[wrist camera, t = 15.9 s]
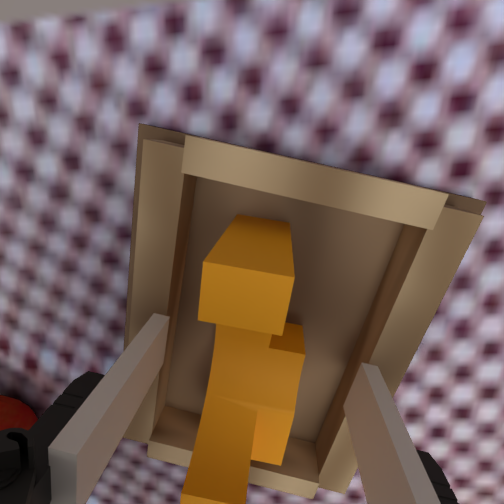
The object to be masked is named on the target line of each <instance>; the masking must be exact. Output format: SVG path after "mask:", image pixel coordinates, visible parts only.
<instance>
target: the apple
mask: <svg viewBox="0 0 504 504" xmlns="http://www.w3.org/2000/svg"><path fill="white" fill-rule="evenodd" d="M37 420H38V419H37V417H36V415H35V413H34V412H33V411H32V409H31V408H30V407H29V406H28V405H26V404H25V403H23V402H21V401H20V400H18V399H14V398H10V397H7V396H3V395H0V431H1V430H4V429H8V428H23V429H26V430H29V429H30V428H31V427H32V426H33V425H34V423H35V422H36V421H37Z"/></svg>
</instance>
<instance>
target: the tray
mask: <svg viewBox="0 0 504 504" xmlns="http://www.w3.org/2000/svg"><path fill="white" fill-rule="evenodd" d="M486 203H487V202H486V201H482V200H478V199H474V198H469V197H465V196H461V195H456V194H452V193H447V192H443V191H438V190H434V189H430V188H425V187H421V186H416V185H412V184H407V183H403V182H398V181H394V180H390V179H385V178H381V177H376V176H372V175H367V174H363V173H359V172H354V171H350V170H345V169H341V168H336V167H332V166H328V165H323V164H319V163H314V162H310V161H305V160H301V159H296V158H292V157H288V156H283V155H279V154H274V153H270V152H265V151H261V150H257V149H252V148H248V147H243V146H239V145H234V144H230V143H225V142H221V141H217V140H212V139H208V138H203V137H199V136H194V135H190V134H186V133H181V132H177V131H172V130H168V129H163V128H159V127H154V126H150V125H145V124H140V123H139V129H138V144H137V158H136V173H135V188H134V203H133V218H132V233H131V248H130V263H129V278H128V293H127V308H126V322H125V337H124V351H125V349H126V348H127V347H128V345H129V344H130V343H131V342H132V340H133V339H134V338H135V337H136V335H137V334H138V333H139V332H140V330H141V329H142V328H143V326H144V325H145V324H146V323H147V321H148V320H149V319H150V318H151V316H152V315H153V314H154V313H156V314H160V315H164V316H169V317H170V318H169V326H168V333H167V341H166V348H165V356H164V363H163V365H162V367H161V368H160V370H159V372H158V374H157V376H156V377H155V379H154V381H153V383H152V385H151V386H150V388H149V390H148V392H147V394H146V395H145V397H144V399H143V401H142V403H141V404H140V406H139V408H138V410H137V412H136V413H135V415H134V417H133V419H132V421H131V423H130V424H129V426H128V428H127V430H126V432H125V433H124V435H123V438H127V439H131V440H135V441H139V442H142V443H146V444H148V452H147V457H149V458H153V459H157V460H161V461H165V462H169V463H173V464H177V465H181V466H185V467H189V464H190V460H191V457H192V453H193V449H194V445H195V441H196V437H197V433H198V429H199V425H200V420H201V416H202V411H203V407H204V402H205V397H206V392H207V387H208V382H209V377H210V371H211V365H212V358H213V351H214V344H215V334H216V324H215V323H209V322H204V321H199V320H198V311H199V300H200V289H201V279H202V268H203V261H204V260H205V258H206V257H207V255H208V254H209V253H210V251H211V250H212V249H213V247H214V246H215V244H216V243H217V242H218V240H219V239H220V237H221V236H222V235H223V233H224V232H225V231H226V229H227V228H228V226H229V225H230V224H231V222H232V221H233V220H234V218H235V217H236V215H237V214H240V215H246V216H252V217H258V218H264V219H270V220H276V221H282V222H288V223H290V230H291V241H292V252H293V263H294V274H295V279H294V284H293V288H292V293H291V297H290V302H289V307H288V311H287V316H286V321H285V322H286V323H291V324H297V325H302V326H303V335H304V344H305V353H306V356H305V359H304V363H303V367H302V371H301V376H300V381H299V387H298V392H297V399H296V406H295V413H294V418H293V422H292V426H291V430H290V433H289V437H288V441H287V445H286V449H285V452H284V456H283V460H282V464H281V466H280V465H275V464H270V463H265V462H260V461H256V460H251V461H250V469H249V477H248V483H251V484H255V485H259V486H263V487H267V488H271V489H275V490H278V491H282V492H286V493H290V494H294V495H298V496H302V497H306V498H310V499H313V497H314V495H315V493H316V491H317V488H318V487H319V488H323V489H327V490H331V491H335V492H339V493H343V494H345V492H346V490H347V488H348V486H349V484H350V482H351V480H352V478H353V476H354V474H355V472H356V470H357V468H358V464H357V460H356V456H355V452H354V448H353V444H352V440H351V436H350V432H349V428H348V424H347V420H346V416H345V412H344V408H343V405H344V403H345V400H346V398H347V396H348V393H349V391H350V389H351V386H352V384H353V382H354V379H355V377H356V374H357V372H358V370H359V367H360V365H361V363H366V364H371V365H375V366H378V368H379V370H380V372H381V375H382V377H383V379H384V381H385V383H386V385H387V388H388V390H389V392H390V394H391V396H392V398H393V396H394V394H395V392H396V390H397V388H398V386H399V384H400V382H401V380H402V378H403V376H404V374H405V372H406V370H407V368H408V366H409V364H410V362H411V360H412V358H413V356H414V354H415V352H416V350H417V348H418V346H419V344H420V342H421V340H422V338H423V336H424V335H425V333H426V331H427V329H428V327H429V325H430V323H431V321H432V319H433V317H434V315H435V313H436V311H437V309H438V307H439V305H440V303H441V301H442V299H443V297H444V295H445V293H446V291H447V289H448V287H449V285H450V283H451V281H452V279H453V277H454V275H455V273H456V271H457V269H458V267H459V265H460V263H461V261H462V259H463V257H464V255H465V253H466V251H467V249H468V247H469V245H470V243H471V241H472V239H473V237H474V235H475V233H476V231H477V229H478V227H479V225H480V223H481V221H482V219H483V217H484V216H482V215H481V213H482V211H483V209H484V207H485V205H486Z"/></svg>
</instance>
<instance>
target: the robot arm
mask: <svg viewBox="0 0 504 504" xmlns="http://www.w3.org/2000/svg"><path fill="white" fill-rule="evenodd" d="M169 318H170V317H169V316H164V315H160V314H156V313H154V314H153V315H152V316H151V318H150V319H149V320H148V321H147V323H146V324H145V325H144V326H143V328H142V329H141V330H140V332H139V333H138V334H137V335H136V337H135V338H134V339H133V340H132V342H131V343H130V344H129V345H128V347H127V348H126V349H125V351H124V352H123V353H122V354H121V356H120V357H119V358H118V359H117V361H116V362H115V363H114V365H113V366H112V367H111V368H110V370H109V371H108V372H107V373H106V375H102V374H98V373H93V372H89V371H88V372H86V373H85V374H83V375H81V376H80V377H78V378H77V379H75V380H74V381H73V382H72V383H71V384H70V385H69V386H68V387H67V388H66V389H65V390H64V392H63V394H62V395H60V396H59V397H58V398H57V399H56V400H55V401H54V403H53V405H51V406H50V407H49V408H48V409H47V410H46V411H45V412H44V414H43V415H42V416H41V417H40V418H39V419H38V420H37V421H36V422H35V423H34V425H33V426H32V427H31V428H30V429H29V430H26V429H23V428H8V429H4V430H1V431H0V504H49V503H50V504H86V502H87V500H88V498H89V496H90V495H91V493H92V491H93V489H94V487H95V486H96V484H97V482H98V480H99V478H100V477H101V475H102V473H103V471H104V469H105V468H106V466H107V464H108V462H109V460H110V459H111V457H112V455H113V453H114V451H115V450H116V448H117V446H118V444H119V442H120V441H121V439H122V437H123V435H124V433H125V432H126V430H127V428H128V426H129V424H130V423H131V421H132V419H133V417H134V415H135V413H136V412H137V410H138V408H139V406H140V404H141V403H142V401H143V399H144V397H145V395H146V394H147V392H148V390H149V388H150V386H151V385H152V383H153V381H154V379H155V377H156V376H157V374H158V372H159V370H160V368H161V367H162V365H163V363H164V356H165V348H166V341H167V333H168V326H169ZM343 408H344V412H345V416H346V420H347V424H348V428H349V432H350V436H351V440H352V444H353V448H354V452H355V456H356V460H357V464H358V468H359V472H360V476H361V480H362V484H363V488H364V492H365V496H366V500H367V504H459V503H457V498H456V496H455V494H454V492H453V491H452V489H450V485H449V483H448V481H447V479H446V477H445V475H444V473H443V471H442V469H441V468H440V466H439V465H438V464H437V463H436V461H435V460H434V459H433V458H432V457H431V455H430V454H429V453H428V452H423V451H419V450H416V449H415V446H414V444H413V442H412V440H411V438H410V436H409V433H408V431H407V429H406V427H405V425H404V422H403V420H402V418H401V416H400V414H399V412H398V409H397V407H396V405H395V403H394V401H393V398H392V396H391V394H390V392H389V390H388V388H387V385H386V383H385V381H384V379H383V377H382V375H381V372H380V370H379V368H378V366H375V365H371V364H366V363H361V365H360V367H359V370H358V372H357V374H356V377H355V379H354V382H353V384H352V386H351V389H350V391H349V393H348V396H347V398H346V400H345V403H344V405H343Z"/></svg>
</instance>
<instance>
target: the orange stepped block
mask: <svg viewBox="0 0 504 504" xmlns="http://www.w3.org/2000/svg"><path fill="white" fill-rule="evenodd" d="M294 279H295V274H294V263H293V252H292V241H291V230H290V223H288V222H282V221H276V220H270V219H264V218H258V217H252V216H246V215H240V214H237V215H236V217H235V218H234V220H233V221H232V222H231V224H230V225H229V226H228V228H227V229H226V231H225V232H224V233H223V235H222V236H221V237H220V239H219V240H218V242H217V243H216V244H215V246H214V247H213V249H212V250H211V251H210V253H209V254H208V255H207V257H206V258H205V260H204V261H203V268H202V279H201V289H200V300H199V311H198V320H199V321H204V322H209V323H215V324H216V334H215V344H214V351H213V358H212V365H211V371H210V377H209V382H208V387H207V392H206V397H205V402H204V407H203V411H202V416H201V420H200V425H199V429H198V433H197V437H196V441H195V445H194V449H193V453H192V457H191V460H190V464H189V468H188V472H187V475H186V479H185V482H184V486H183V489H182V492H181V501H180V504H245V503H246V494H247V486H248V477H249V469H250V461H251V460H256V461H260V462H265V463H270V464H275V465H280V466H281V464H282V460H283V456H284V452H285V449H286V445H287V441H288V437H289V433H290V430H291V426H292V422H293V418H294V413H295V406H296V399H297V392H298V387H299V381H300V376H301V371H302V367H303V363H304V359H305V356H306V353H305V344H304V335H303V326H302V325H297V324H291V323H286V322H285V321H286V316H287V311H288V307H289V302H290V297H291V293H292V288H293V284H294Z"/></svg>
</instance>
